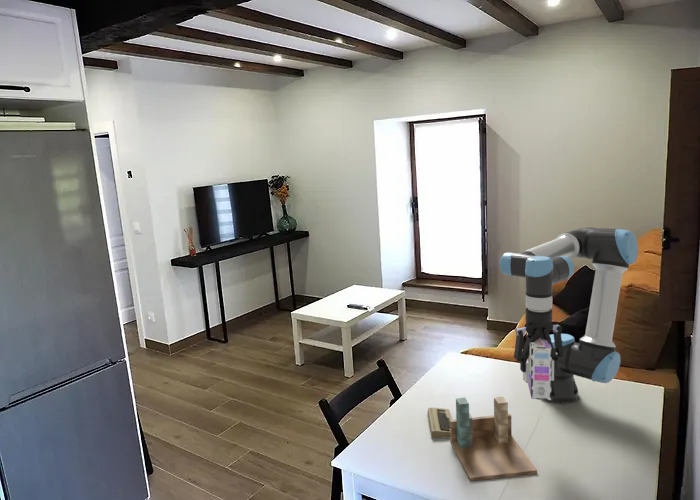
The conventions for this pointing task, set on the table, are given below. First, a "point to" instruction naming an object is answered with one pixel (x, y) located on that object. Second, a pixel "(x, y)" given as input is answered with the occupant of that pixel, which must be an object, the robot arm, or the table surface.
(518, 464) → the shelf
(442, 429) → the computer
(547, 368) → the candy box
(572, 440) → the table surface
